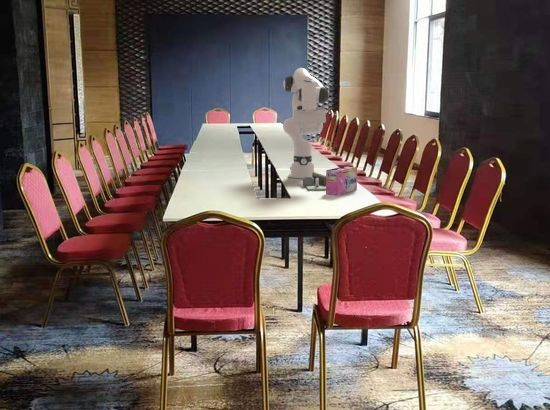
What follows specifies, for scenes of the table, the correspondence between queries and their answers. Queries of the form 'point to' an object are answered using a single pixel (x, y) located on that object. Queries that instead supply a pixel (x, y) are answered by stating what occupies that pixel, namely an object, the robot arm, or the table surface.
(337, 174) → the gum box
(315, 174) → the handheld radio
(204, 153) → the table surface
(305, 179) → the collar
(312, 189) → the post board
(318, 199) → the table surface
